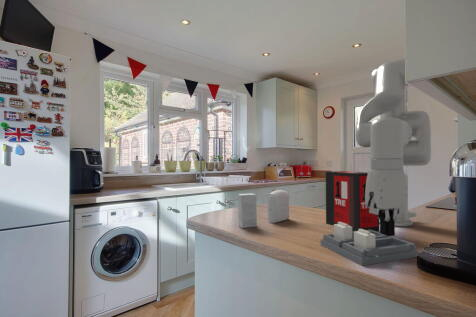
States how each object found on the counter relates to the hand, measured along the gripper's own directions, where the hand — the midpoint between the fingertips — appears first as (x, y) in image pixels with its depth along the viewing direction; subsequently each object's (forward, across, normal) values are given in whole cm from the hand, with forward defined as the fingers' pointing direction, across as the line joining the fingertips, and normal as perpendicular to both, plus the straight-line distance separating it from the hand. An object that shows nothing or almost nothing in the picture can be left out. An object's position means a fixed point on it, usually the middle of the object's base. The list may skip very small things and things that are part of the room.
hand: (387, 234), depth 70 cm
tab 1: (+3, +8, -7) cm, 11 cm away
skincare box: (+5, +26, -38) cm, 46 cm away
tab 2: (+3, +8, +1) cm, 9 cm away
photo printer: (+5, +11, -42) cm, 44 cm away
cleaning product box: (+6, -9, -24) cm, 26 cm away
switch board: (+5, +4, -3) cm, 7 cm away
